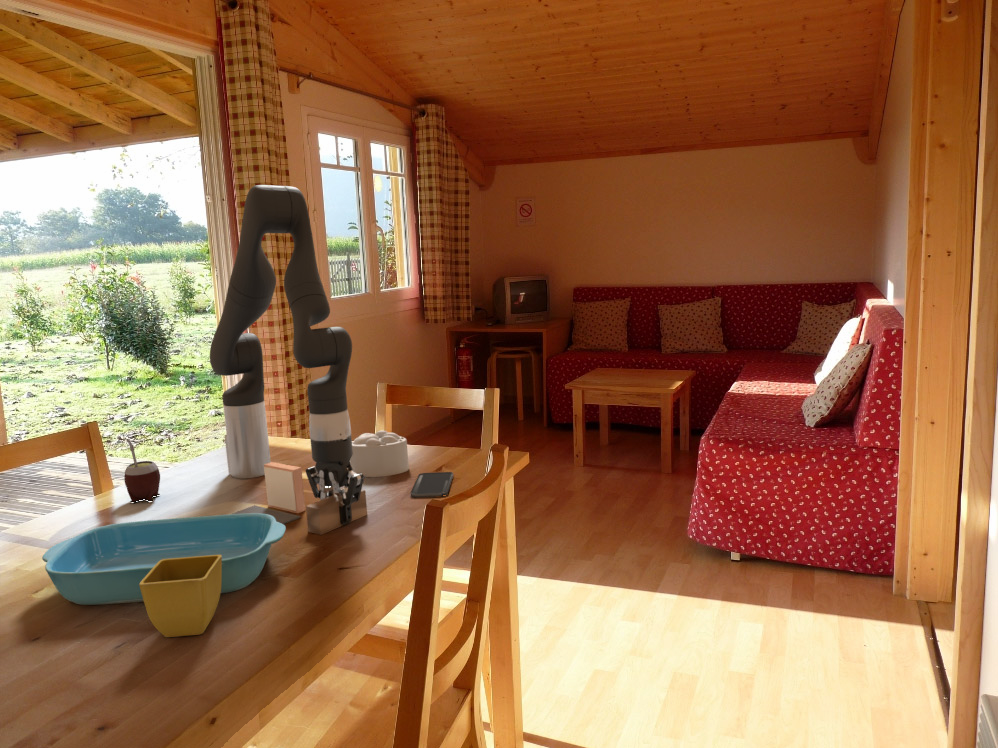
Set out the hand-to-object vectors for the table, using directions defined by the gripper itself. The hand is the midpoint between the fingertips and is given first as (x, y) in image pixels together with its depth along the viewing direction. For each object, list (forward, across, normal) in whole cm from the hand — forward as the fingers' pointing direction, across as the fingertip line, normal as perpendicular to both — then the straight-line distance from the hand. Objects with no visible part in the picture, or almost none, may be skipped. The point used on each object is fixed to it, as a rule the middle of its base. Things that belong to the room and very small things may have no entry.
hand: (338, 521), depth 148 cm
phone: (+1, +2, +26) cm, 26 cm away
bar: (0, 0, 0) cm, 0 cm away
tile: (0, -16, +1) cm, 16 cm away
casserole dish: (+1, -6, -31) cm, 32 cm away
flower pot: (+1, +12, -40) cm, 42 cm away
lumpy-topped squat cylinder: (+1, -17, +30) cm, 35 cm away
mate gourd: (0, -49, -10) cm, 50 cm away
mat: (0, -16, -6) cm, 17 cm away
